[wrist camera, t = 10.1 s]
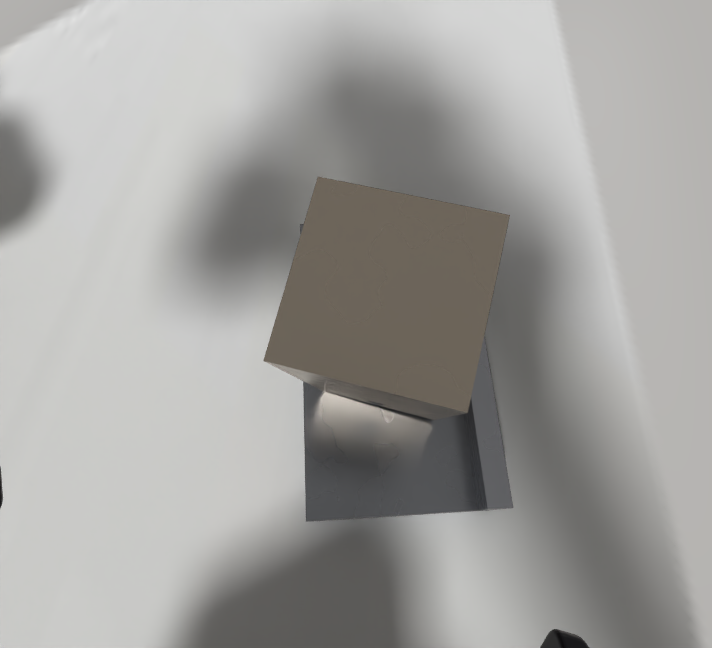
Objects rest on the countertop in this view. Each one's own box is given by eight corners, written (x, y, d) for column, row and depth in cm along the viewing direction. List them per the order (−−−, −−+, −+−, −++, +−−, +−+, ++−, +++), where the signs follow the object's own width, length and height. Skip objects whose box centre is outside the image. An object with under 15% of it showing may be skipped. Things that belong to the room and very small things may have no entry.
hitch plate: (493, 509, 21) (513, 507, 19) (306, 521, 21) (304, 520, 18) (450, 232, 26) (462, 205, 24) (301, 235, 26) (298, 207, 24)
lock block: (434, 421, 21) (467, 415, 11) (322, 392, 22) (263, 363, 12) (459, 308, 22) (510, 213, 12) (352, 284, 23) (318, 175, 13)
